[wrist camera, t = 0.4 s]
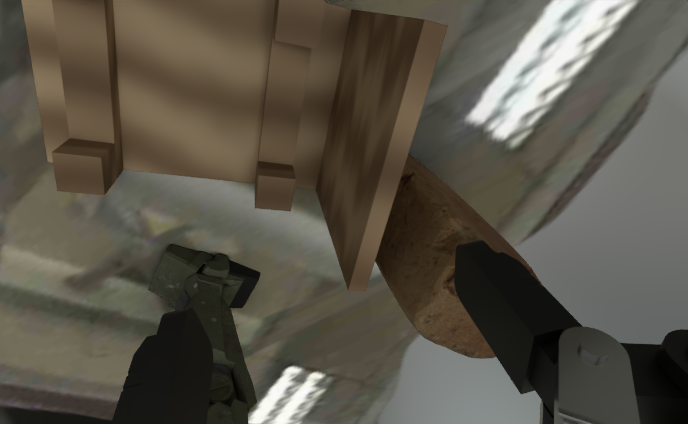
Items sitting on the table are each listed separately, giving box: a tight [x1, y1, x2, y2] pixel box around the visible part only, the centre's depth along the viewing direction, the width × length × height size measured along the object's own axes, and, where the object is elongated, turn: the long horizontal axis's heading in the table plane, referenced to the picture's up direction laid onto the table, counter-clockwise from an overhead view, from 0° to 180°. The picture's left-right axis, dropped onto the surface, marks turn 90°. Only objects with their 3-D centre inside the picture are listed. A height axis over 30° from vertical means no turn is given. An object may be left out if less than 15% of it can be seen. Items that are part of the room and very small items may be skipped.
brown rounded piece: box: [375, 154, 543, 358], centre depth 31 cm, size 11×8×20 cm
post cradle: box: [22, 0, 448, 291], centre depth 24 cm, size 16×24×16 cm
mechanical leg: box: [148, 245, 260, 424], centre depth 29 cm, size 13×7×29 cm, turn 59°
